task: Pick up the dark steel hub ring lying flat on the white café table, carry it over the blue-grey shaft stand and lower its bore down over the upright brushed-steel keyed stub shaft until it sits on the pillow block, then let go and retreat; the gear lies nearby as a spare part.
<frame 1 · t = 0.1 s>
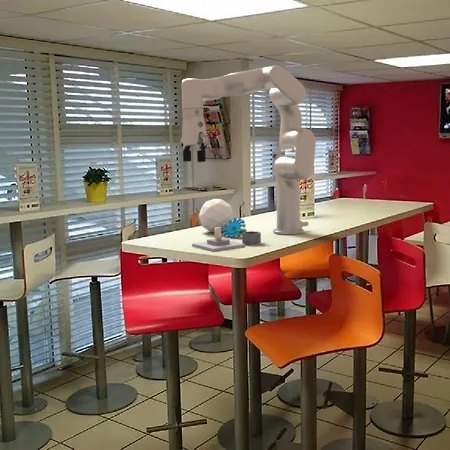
hand: (194, 161, 216), 31 cm above the table, fingers open, 9 cm apart
hub: (251, 243, 223), on the table
gear: (235, 237, 238), on the table
geometric sphere: (216, 232, 252), on the table
shaft stand: (218, 246, 218), on the table
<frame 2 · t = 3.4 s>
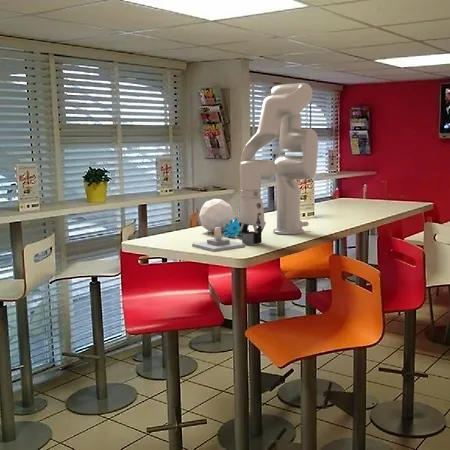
hand: (251, 241, 222), 1 cm above the table, fingers closed on hub, 6 cm apart
hub: (251, 243, 222), on the table, touching gripper
everything else where it was.
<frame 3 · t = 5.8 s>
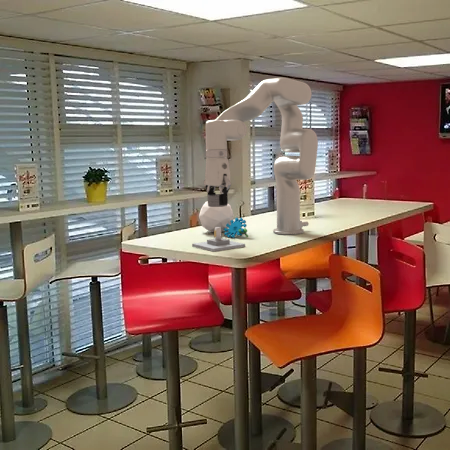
hand: (217, 203, 215), 16 cm above the table, fingers closed on hub, 6 cm apart
hub: (217, 205, 215), point 15 cm above the table, touching gripper
everything else where it was.
when the fingers open (4 cm above the table, at t = 8.0 s): hub stays where it is, resting on shaft stand.
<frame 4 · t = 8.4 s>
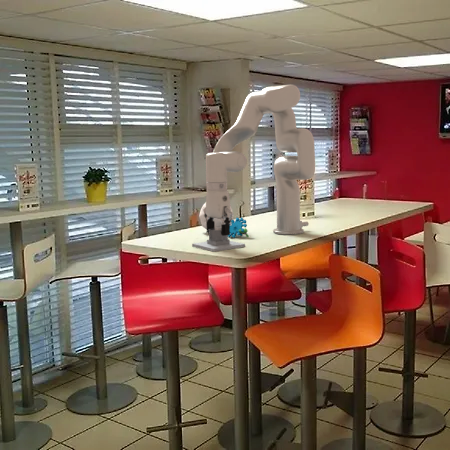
hand: (218, 233, 217), 5 cm above the table, fingers open, 9 cm apart
hub: (218, 239, 217), point 2 cm above the table, touching shaft stand
everything else where it was.
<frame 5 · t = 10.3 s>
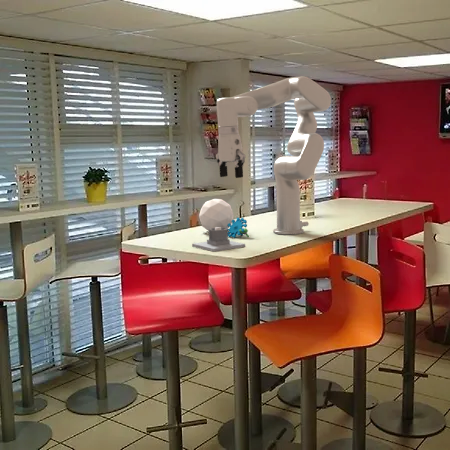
hand: (231, 177, 224), 25 cm above the table, fingers open, 9 cm apart
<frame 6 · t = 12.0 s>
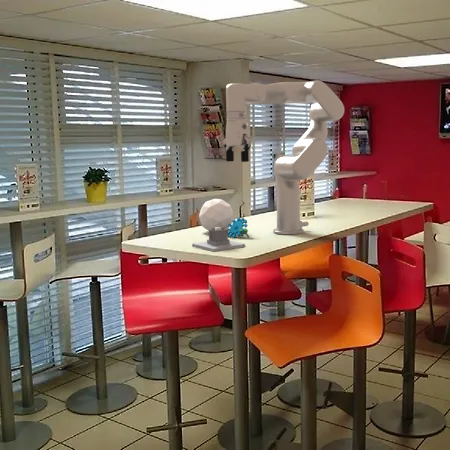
hand: (237, 161, 230), 30 cm above the table, fingers open, 9 cm apart
at the end: hub 0.1 cm off-centre on the shaft stand, point 2.5 cm above the shaft stand's base; hub tilted 0°; the gripper is holding nothing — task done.
